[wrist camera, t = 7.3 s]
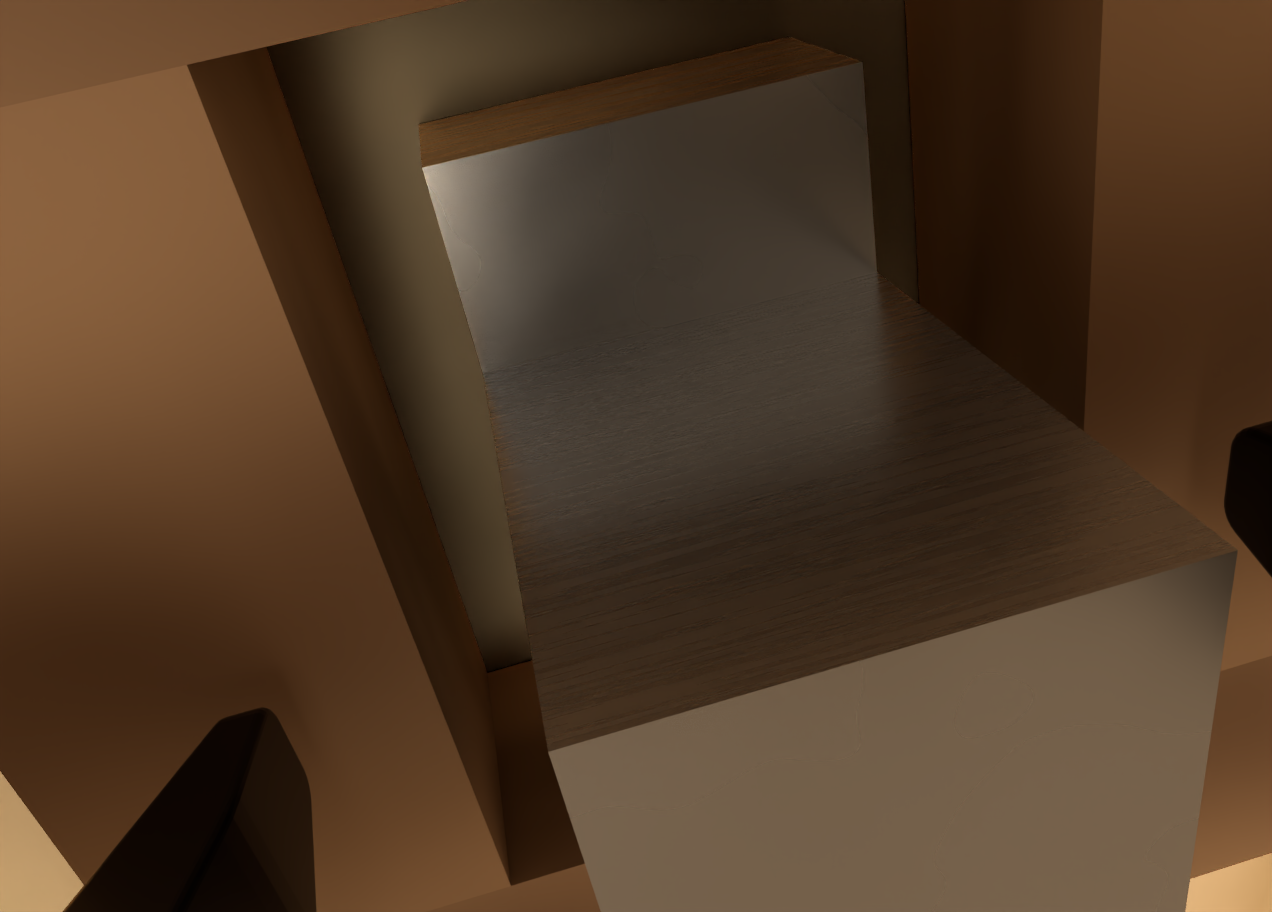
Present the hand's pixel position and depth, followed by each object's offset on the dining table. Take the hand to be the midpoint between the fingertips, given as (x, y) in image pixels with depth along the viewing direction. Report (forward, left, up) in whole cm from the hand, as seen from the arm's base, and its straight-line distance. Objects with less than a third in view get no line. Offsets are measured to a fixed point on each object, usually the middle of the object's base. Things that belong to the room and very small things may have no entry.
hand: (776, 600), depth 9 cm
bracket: (0, 0, -4) cm, 4 cm away
